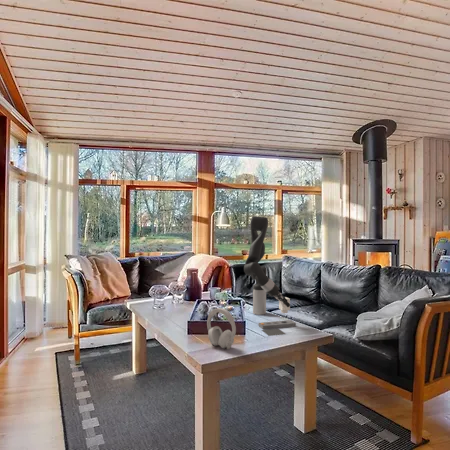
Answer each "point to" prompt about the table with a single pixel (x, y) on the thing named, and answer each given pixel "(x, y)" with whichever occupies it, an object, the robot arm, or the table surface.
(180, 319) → the table surface
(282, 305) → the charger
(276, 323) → the power strip
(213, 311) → the headphones
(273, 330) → the mat
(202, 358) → the table surface
